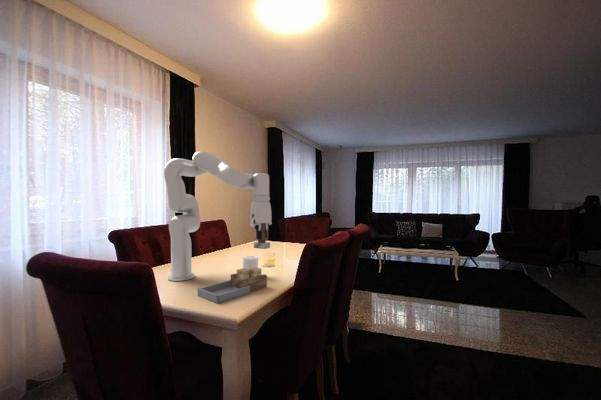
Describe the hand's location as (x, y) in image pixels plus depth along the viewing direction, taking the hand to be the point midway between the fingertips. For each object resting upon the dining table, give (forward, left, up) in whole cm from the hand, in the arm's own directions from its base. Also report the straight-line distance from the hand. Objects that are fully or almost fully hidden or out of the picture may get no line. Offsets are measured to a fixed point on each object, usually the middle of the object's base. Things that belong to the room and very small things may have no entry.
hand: (261, 238), depth 135 cm
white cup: (-12, +3, -21) cm, 25 cm away
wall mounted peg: (0, 0, -5) cm, 5 cm away
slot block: (0, -8, -21) cm, 23 cm away
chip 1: (-1, -10, -17) cm, 20 cm away
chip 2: (+2, -5, -17) cm, 18 cm away
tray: (0, -21, -21) cm, 30 cm away
